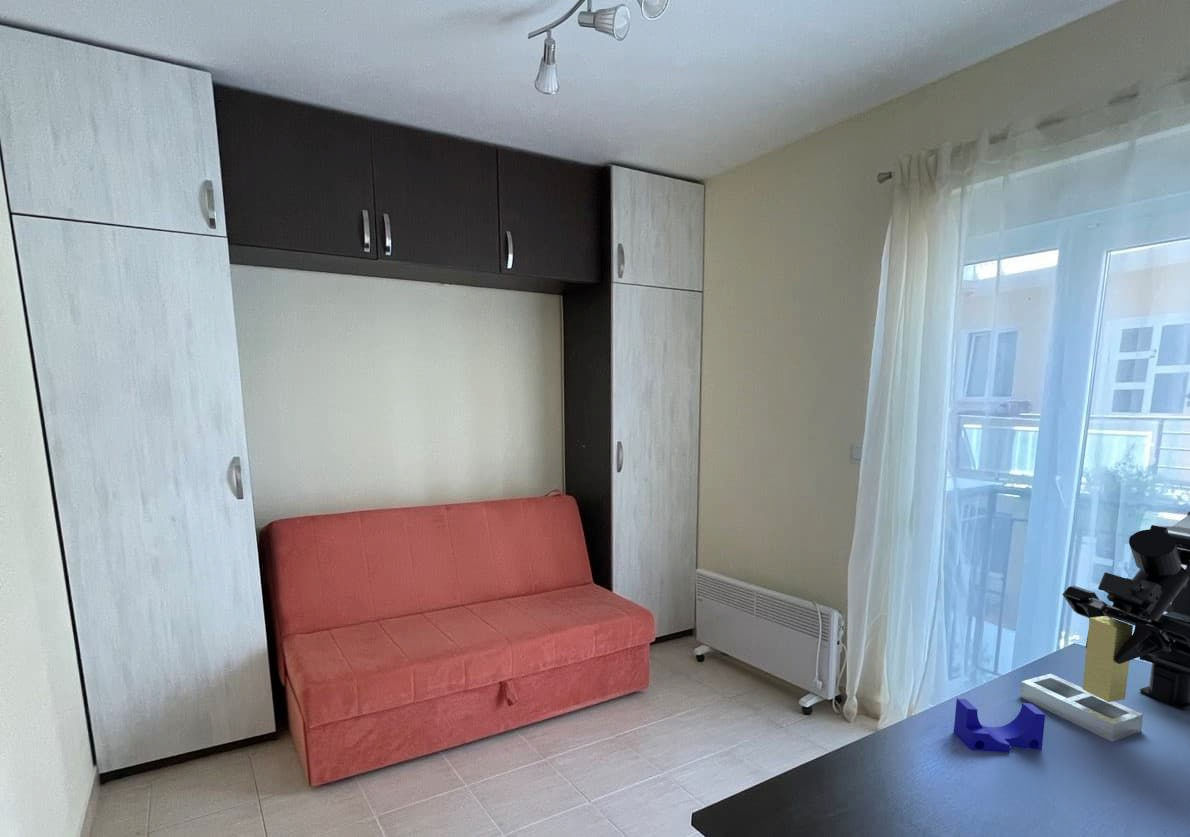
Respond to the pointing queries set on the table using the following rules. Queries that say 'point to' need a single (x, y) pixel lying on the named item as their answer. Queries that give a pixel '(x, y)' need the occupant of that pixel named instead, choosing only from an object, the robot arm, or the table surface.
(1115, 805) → the table surface
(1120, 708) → the metal frame
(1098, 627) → the brass peg
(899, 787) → the table surface
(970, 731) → the cable clip
